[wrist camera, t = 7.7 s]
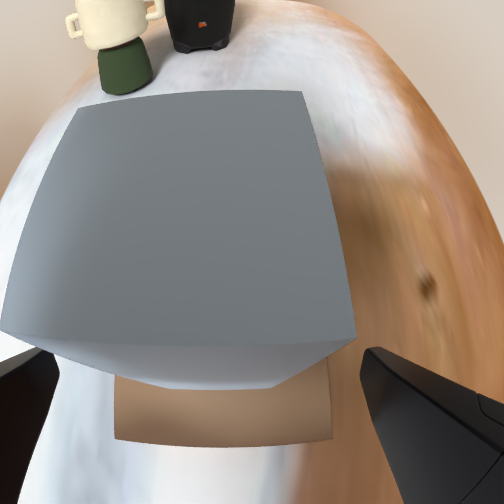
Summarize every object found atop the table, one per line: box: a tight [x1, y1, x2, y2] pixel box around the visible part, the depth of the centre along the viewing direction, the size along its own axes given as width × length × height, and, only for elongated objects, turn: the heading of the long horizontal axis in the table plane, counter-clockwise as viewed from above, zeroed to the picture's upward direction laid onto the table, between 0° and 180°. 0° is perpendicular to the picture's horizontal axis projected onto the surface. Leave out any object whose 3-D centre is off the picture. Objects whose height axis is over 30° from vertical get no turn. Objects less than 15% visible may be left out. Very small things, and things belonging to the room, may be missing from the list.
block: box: [0, 90, 357, 390], centre depth 10 cm, size 5×5×12 cm
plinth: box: [114, 357, 333, 448], centre depth 16 cm, size 11×11×2 cm
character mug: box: [66, 0, 165, 95], centre depth 24 cm, size 11×7×13 cm, turn 96°
